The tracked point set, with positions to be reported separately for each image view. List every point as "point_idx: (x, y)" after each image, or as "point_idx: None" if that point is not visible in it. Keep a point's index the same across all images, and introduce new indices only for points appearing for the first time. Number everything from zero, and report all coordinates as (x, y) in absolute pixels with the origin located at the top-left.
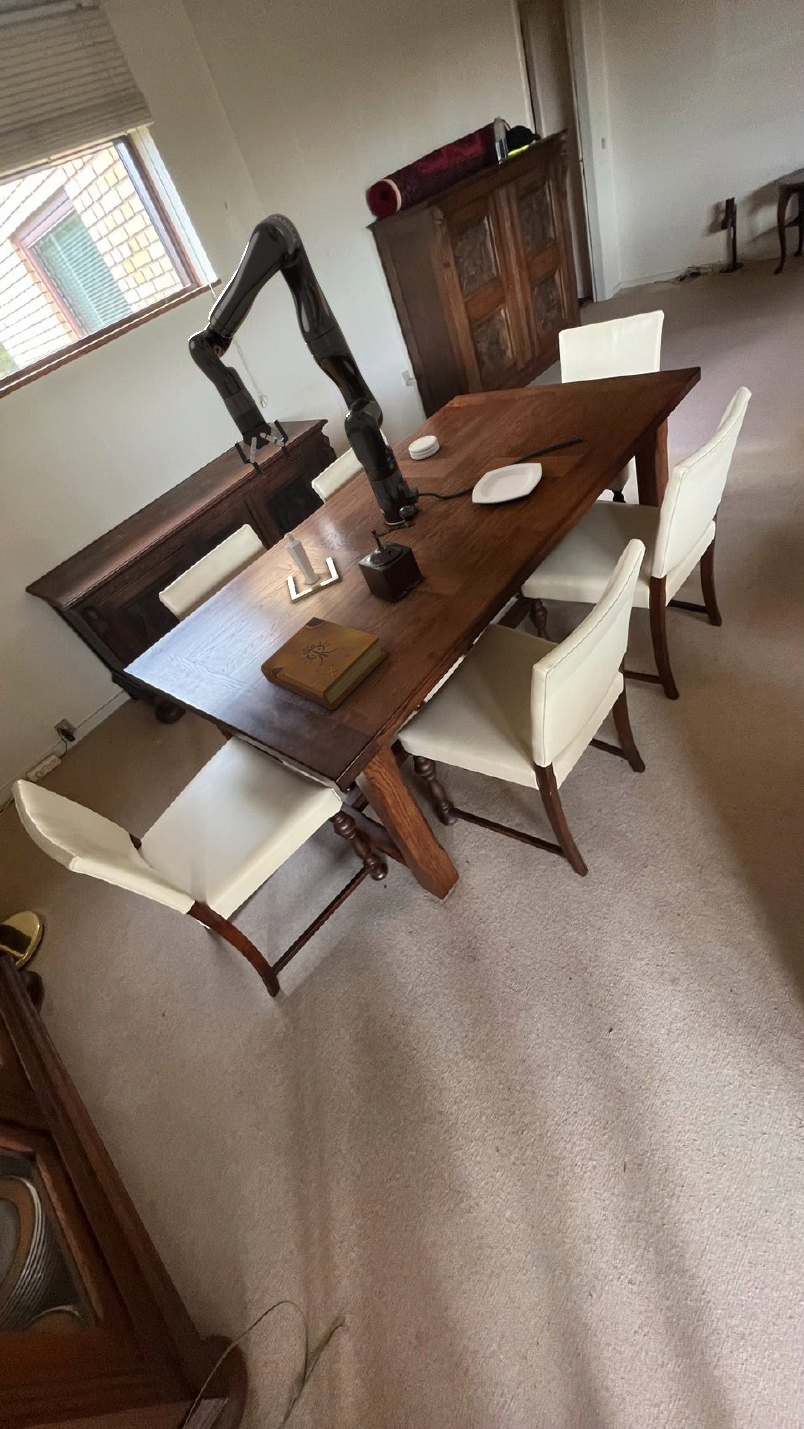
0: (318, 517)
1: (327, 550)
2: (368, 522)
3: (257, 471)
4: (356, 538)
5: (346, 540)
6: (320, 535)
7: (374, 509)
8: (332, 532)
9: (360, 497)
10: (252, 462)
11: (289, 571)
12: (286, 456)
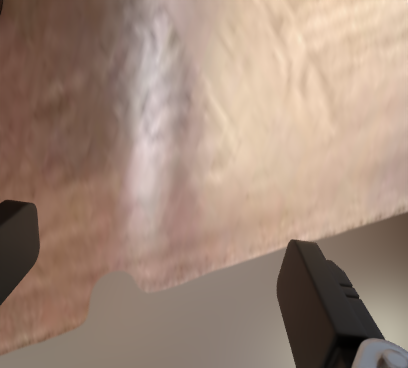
0: (149, 262)
1: (188, 46)
2: (45, 75)
3: (337, 277)
4: (99, 18)
5: (126, 41)
6: (176, 158)
7: (12, 130)
8: (144, 136)
9: None
10: (395, 353)
11: (317, 49)
12: (2, 215)
